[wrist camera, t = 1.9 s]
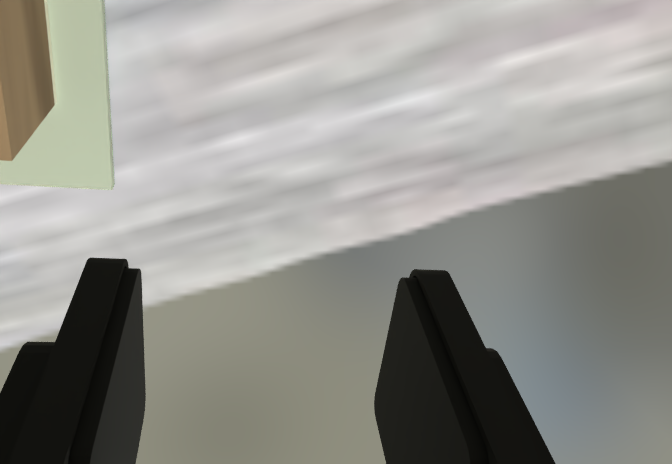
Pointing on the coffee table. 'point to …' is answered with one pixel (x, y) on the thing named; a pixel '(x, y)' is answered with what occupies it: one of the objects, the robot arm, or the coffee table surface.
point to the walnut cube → (24, 72)
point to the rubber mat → (72, 107)
